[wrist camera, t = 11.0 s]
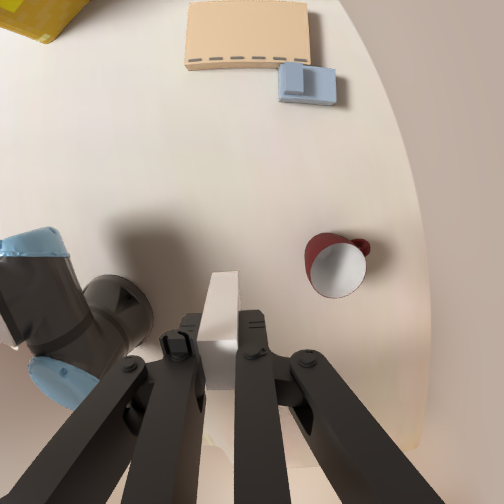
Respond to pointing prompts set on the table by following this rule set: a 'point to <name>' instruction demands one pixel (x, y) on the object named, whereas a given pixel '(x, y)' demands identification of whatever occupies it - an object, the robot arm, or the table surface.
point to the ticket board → (246, 34)
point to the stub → (306, 84)
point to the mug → (335, 264)
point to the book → (39, 17)
